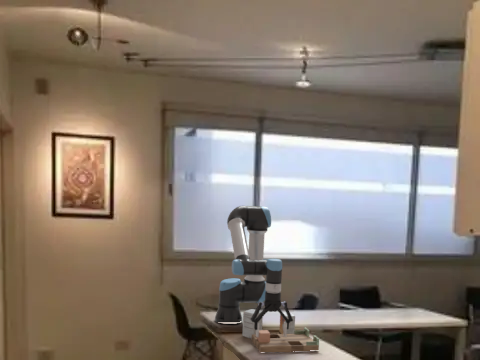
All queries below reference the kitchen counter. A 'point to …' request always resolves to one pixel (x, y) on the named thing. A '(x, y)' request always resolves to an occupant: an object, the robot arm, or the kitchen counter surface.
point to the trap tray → (288, 342)
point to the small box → (291, 324)
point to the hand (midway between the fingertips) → (271, 336)
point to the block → (264, 336)
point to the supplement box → (250, 323)
